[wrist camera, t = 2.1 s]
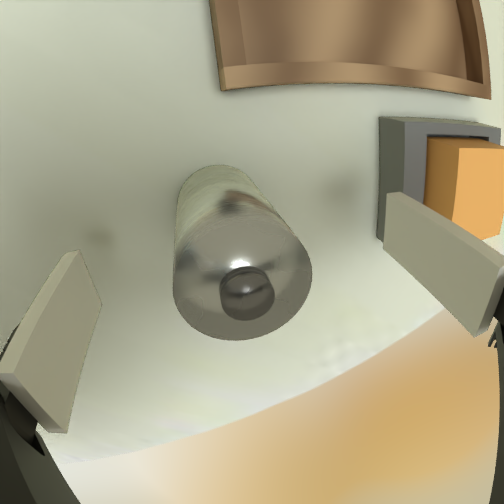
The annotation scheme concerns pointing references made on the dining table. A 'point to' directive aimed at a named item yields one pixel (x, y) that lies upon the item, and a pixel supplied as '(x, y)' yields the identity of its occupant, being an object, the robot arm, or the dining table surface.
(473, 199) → the orange square block
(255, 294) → the cell
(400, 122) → the frame
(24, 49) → the dining table surface
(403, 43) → the wooden tray
